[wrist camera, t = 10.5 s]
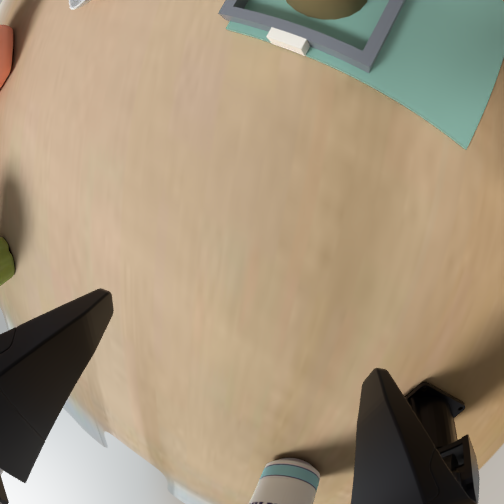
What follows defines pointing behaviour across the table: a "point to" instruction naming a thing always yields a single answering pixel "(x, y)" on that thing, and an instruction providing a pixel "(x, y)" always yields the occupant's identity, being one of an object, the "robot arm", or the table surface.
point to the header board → (397, 50)
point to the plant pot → (5, 262)
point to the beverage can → (286, 483)
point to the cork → (327, 8)
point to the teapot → (5, 52)
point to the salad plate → (77, 3)
